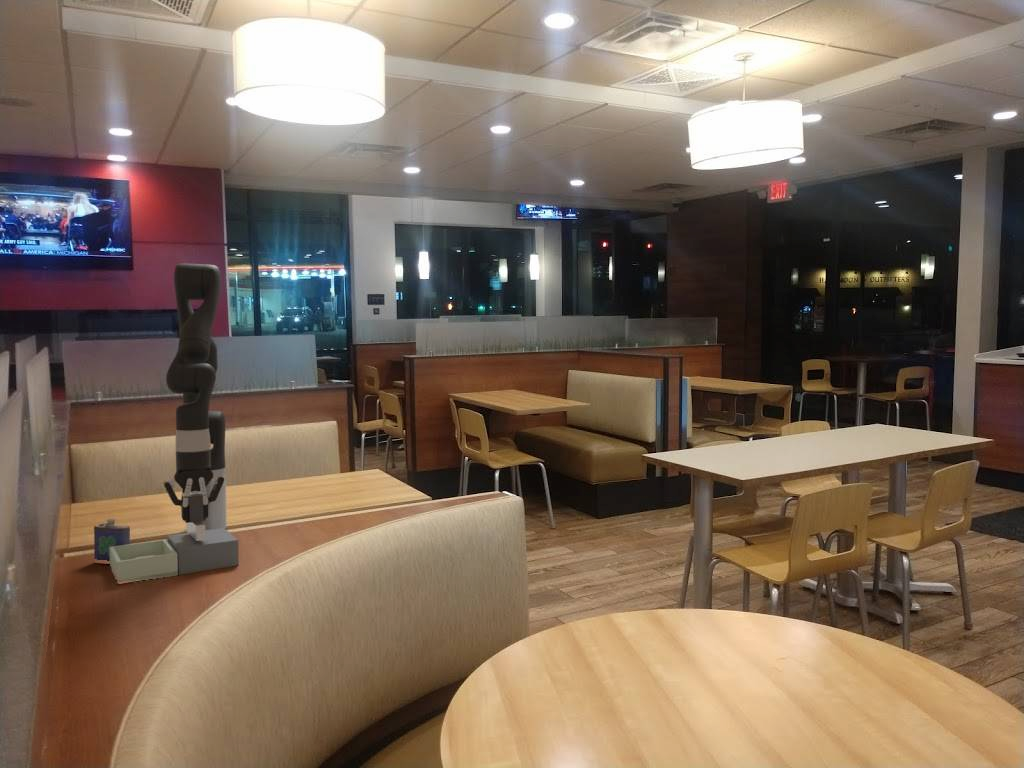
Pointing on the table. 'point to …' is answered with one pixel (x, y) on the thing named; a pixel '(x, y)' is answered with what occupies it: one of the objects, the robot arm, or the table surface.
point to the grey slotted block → (205, 551)
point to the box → (143, 561)
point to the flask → (109, 538)
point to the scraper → (196, 517)
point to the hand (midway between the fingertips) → (194, 520)
